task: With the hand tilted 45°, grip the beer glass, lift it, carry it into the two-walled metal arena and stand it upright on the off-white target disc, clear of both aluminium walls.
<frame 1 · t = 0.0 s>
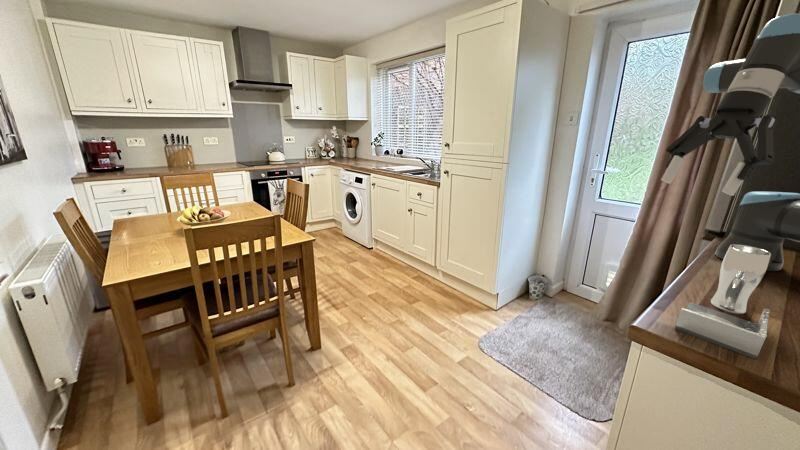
hand: (693, 187, 74), 28 cm above the counter, tool tilted 20°, fingers open, 13 cm apart
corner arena: (711, 326, 69), on the counter
beer glass: (727, 307, 77), on the counter
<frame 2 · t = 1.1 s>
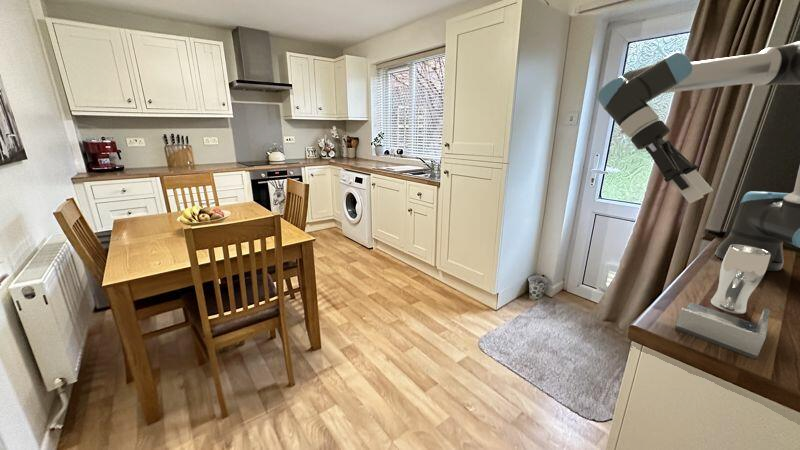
hand: (702, 196, 77), 25 cm above the counter, tool tilted 45°, fingers open, 13 cm apart
nothing on the counter moved.
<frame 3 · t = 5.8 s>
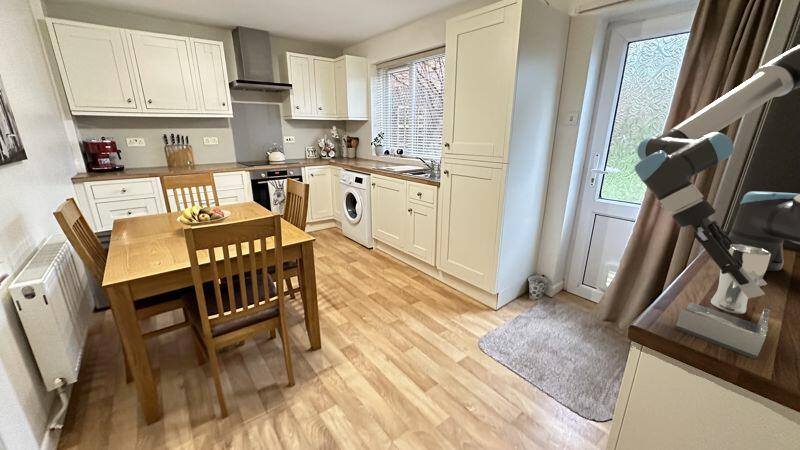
hand: (757, 290, 73), 6 cm above the counter, tool tilted 45°, fingers closed on beer glass, 7 cm apart
beer glass: (727, 307, 77), on the counter, touching gripper
when the fingers open (8 cm above the counter, at t = 11.4 s): beer glass drops 1 cm, resting on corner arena.
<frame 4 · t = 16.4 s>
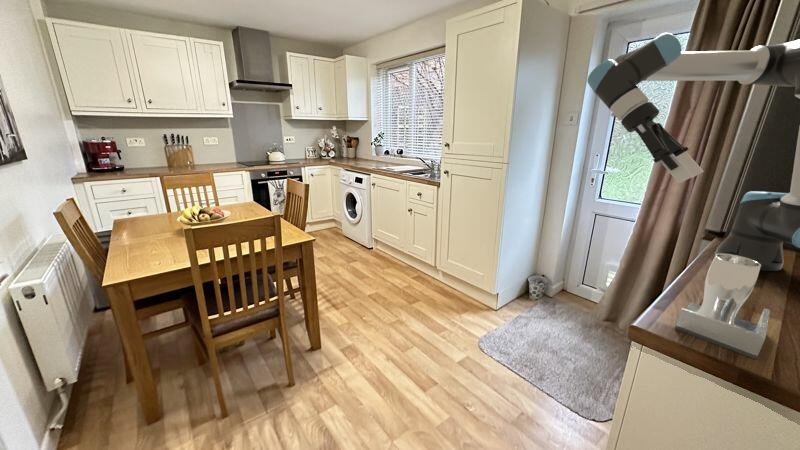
hand: (692, 177, 76), 30 cm above the counter, tool tilted 45°, fingers open, 13 cm apart
beer glass: (712, 323, 69), point 1 cm above the counter, touching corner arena
at the end: beer glass 0.2 cm from the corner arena (horizontally); beer glass tilted 0°; the gripper is holding nothing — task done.
